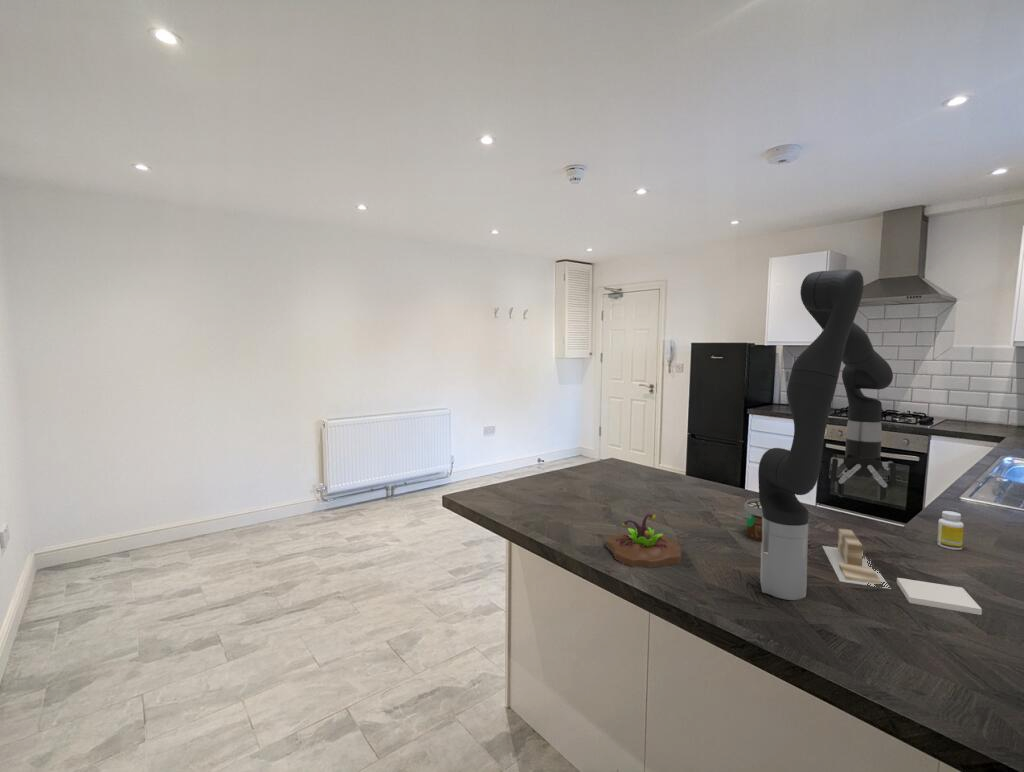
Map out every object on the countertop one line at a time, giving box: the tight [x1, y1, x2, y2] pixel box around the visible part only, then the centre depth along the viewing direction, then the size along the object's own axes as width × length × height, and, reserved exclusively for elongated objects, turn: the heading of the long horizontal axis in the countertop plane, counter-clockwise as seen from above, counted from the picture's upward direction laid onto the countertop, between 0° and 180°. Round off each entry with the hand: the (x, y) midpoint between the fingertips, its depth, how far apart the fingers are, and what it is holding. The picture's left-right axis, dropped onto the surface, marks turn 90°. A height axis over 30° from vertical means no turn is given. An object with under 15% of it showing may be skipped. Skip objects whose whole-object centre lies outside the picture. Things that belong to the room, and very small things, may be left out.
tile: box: [896, 577, 983, 616], centre depth 108 cm, size 12×2×10 cm
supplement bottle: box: [936, 510, 965, 551], centre depth 137 cm, size 5×5×10 cm
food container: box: [743, 498, 763, 542], centre depth 147 cm, size 12×6×10 cm, turn 141°
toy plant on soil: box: [605, 513, 683, 569], centre depth 136 cm, size 20×20×11 cm
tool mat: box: [821, 545, 892, 590], centre depth 125 cm, size 10×23×1 cm, turn 157°
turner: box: [837, 528, 881, 584], centre depth 125 cm, size 20×7×6 cm, turn 156°
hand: (860, 498), depth 128 cm, fingers open, 8 cm apart
